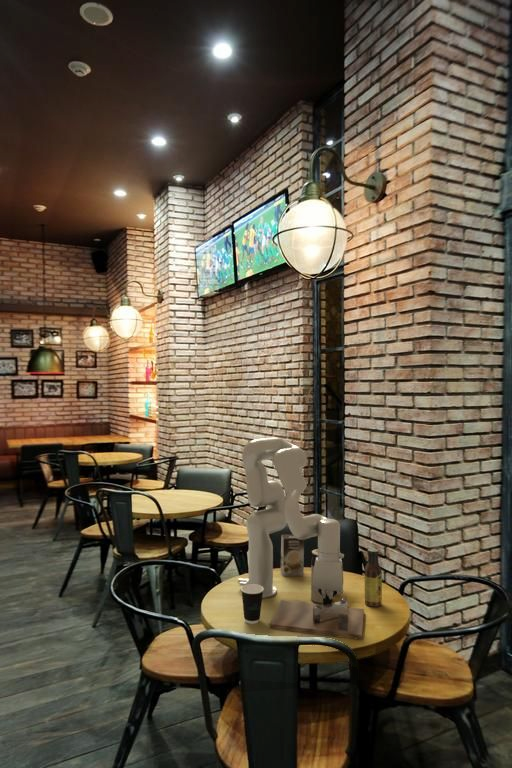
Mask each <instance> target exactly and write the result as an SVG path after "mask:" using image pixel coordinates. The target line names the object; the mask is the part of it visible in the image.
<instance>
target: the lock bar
mask: <svg viewBox="0 0 512 768" xmlns="http://www.w3.org/2000/svg"><path fill="white" fill-rule="evenodd" d="M347 607H348V602H347V599H346V598H345V597H341V598H340V600H339V601H335V602H332V604H328V605H324V606H320V607H319V606H314V607H313V622H315V623H319V622H321V621H324V620H328V619H332V618H335V617H338V615H339V614H342V615H346V614H347Z"/></svg>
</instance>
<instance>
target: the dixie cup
mask: <svg viewBox="0 0 512 768" xmlns="http://www.w3.org/2000/svg"><path fill="white" fill-rule="evenodd" d="M263 590H264V588H263V587H262V586H260V585H256V584H248V585H244V586H241V588H240V591H241V599H242V609H243V618H244V622H245V623H247V624H249V625H255V624H258V623H260V618H261V611H262V605H263V604H262V603H263V602H262V601H263V598H262V595H263Z"/></svg>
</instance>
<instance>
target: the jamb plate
mask: <svg viewBox="0 0 512 768" xmlns="http://www.w3.org/2000/svg"><path fill="white" fill-rule="evenodd" d="M314 606H319V607H320V606H323V603H314V602H313V603H311V602H303V601H296V600H294V601H293V600H285V599H281V600H280V602H279V604H278V606H277V608H276V610H275V612H274V614H273V616H272V617H271V620H270V622H269V624H268V625H269V626H268V627H269V629H273V630H280V631H286V632H287V631H289V632H296V633H304V634H313V635H319V634H320V635H321V636H327V637H335V636H337V637H336V638H343V637H348V638H347V639H351V638H357V639H356V640H359V639H362V638H363V630H364V629H363V628H364V618H365V609H364V608H357V607H351V606H350V607H349V606H347V614H346V615H342V614H339V615H338V617H335V618H332V619H328V620H324V621H321V622H319V623H315V622H313V607H314ZM320 635H319V636H320ZM338 636H340V637H338ZM341 636H342V637H341Z"/></svg>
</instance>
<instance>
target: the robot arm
mask: <svg viewBox="0 0 512 768" xmlns="http://www.w3.org/2000/svg"><path fill="white" fill-rule="evenodd" d="M241 458H242V463H243V464H242V465H243V468H244V472H245V483H246V493H247V501H248V503H249V505H250V506H252V507H253V508H261V507H267V509H266V508H265V509H259V510H257V511H253V512H252V513H250V514H249V516H247V519H246V522H245V523H246V524H245V525H246V531H247V537H248V538H247V539H248V578H240V577H239V578H238V580H237V581H238V582H237V583H238V584H239V586H241V587H242V586H244V585H248V584H256V585H260V586H262V587H263V588H264V590H263V595H262V599H265V598H266V599H267V598H271V597H273V596H275V595H276V594H277V587H276V586H275V585H273V584H274V546H273V542H272V539H271V538H270V534H273V533H277V532H280V531H282V530H284V529H285V527H286V525H288V528H289V530H290V533H291V535H294V536H295V537H296V538H297V539H300V540H304V541H305V540H307V539H310V538H314V537H317V549H318V557H316V560H315V565H314V575H313V588H312V589H313V590H315V591H317V592H319V593H320V594H321V595H322V597H323V603H322V604H323V606H324V605H328V604H332V603H333V598H334V597H335V596H337V595H342V594H344V568H343V567H344V565H343V560H342V559H344V557H345V554H344V553H341V550H340V548H341V547H340V545H341V543H340V541H341V524H340V522H339V521H338V520H337V519H334V518H329V517H326V516H324V515H322V514H319V513H313V514H308V515H305V516H303V515H302V512H301V510H300V506H299V500H300V496H301V495H302V493H303V492H304V491H305V490H306V489H307V481H306V479H305V477H304V475H303V472H302V470H301V469H303V468H304V467H306V466H307V462H308V456H307V454H306V452H305V451H304V450H303V449H302V448H301V447H299V446H298V445H296V444H294V443H291V442H289V441H288V440H286V439H284V438H282V437H268V438H266V437H265V438H257V439H253V440H249V441H248V442H247V443H246V444H245V445H244V447H243V450H242V454H241ZM268 460H272V463H273V466H274V469H275V470H276V471H275V472H276V473H277V475H278V478H279V481H280V482H278V481H276V480H268V472H267V469H266V467H265V464H264V463H263V461H268ZM340 558H342V559H340ZM326 590H330V594H329V596H328V595H327V591H326Z"/></svg>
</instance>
